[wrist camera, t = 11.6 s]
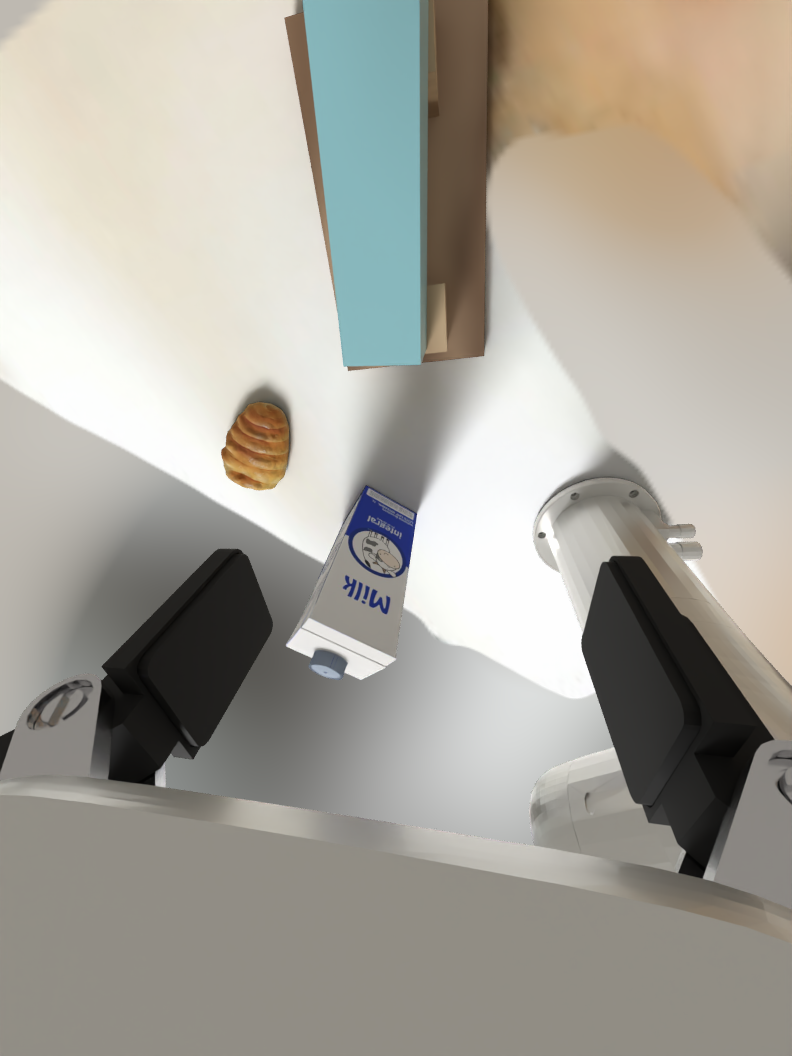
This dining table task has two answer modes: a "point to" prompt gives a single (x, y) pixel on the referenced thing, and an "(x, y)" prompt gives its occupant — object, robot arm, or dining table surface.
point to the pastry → (257, 447)
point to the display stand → (437, 171)
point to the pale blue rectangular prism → (374, 170)
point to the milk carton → (359, 592)
